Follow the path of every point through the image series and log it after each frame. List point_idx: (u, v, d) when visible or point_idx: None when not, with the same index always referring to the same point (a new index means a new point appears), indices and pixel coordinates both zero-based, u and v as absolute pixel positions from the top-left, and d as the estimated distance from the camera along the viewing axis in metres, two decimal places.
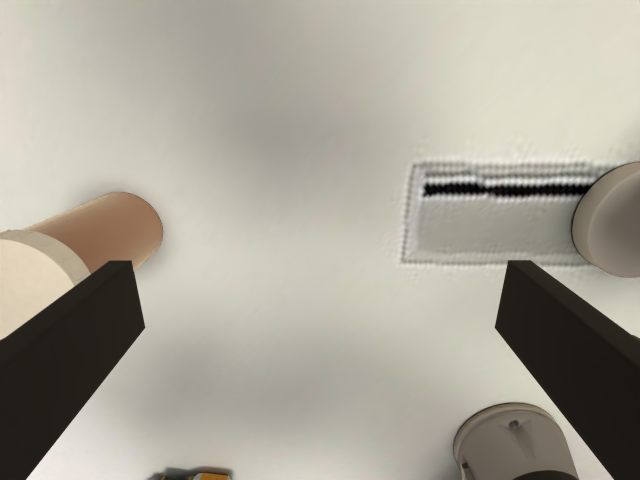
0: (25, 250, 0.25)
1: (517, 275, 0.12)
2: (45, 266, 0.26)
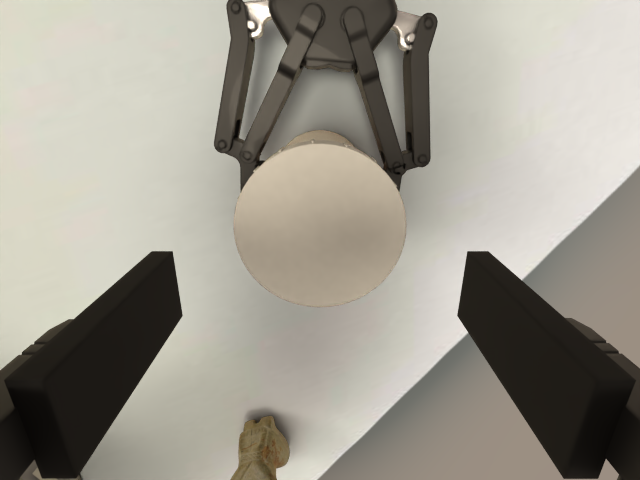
0: (255, 267, 0.20)
1: (474, 265, 0.12)
2: (249, 239, 0.19)
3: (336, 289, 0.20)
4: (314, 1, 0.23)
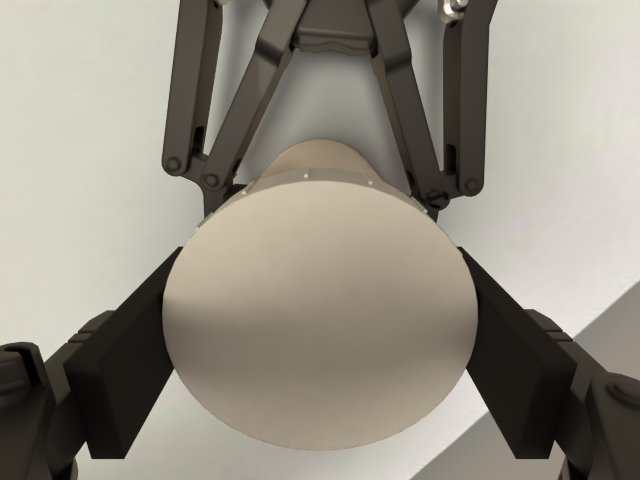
0: (205, 391, 0.11)
1: None
2: (193, 348, 0.11)
3: (348, 425, 0.12)
4: None
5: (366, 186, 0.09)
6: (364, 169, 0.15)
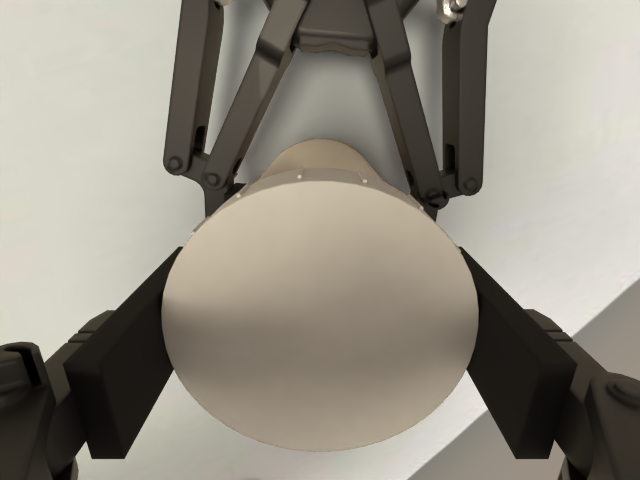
0: (331, 441, 0.12)
1: None
2: (283, 429, 0.12)
3: (438, 353, 0.11)
4: None
5: (185, 244, 0.09)
6: (364, 168, 0.16)
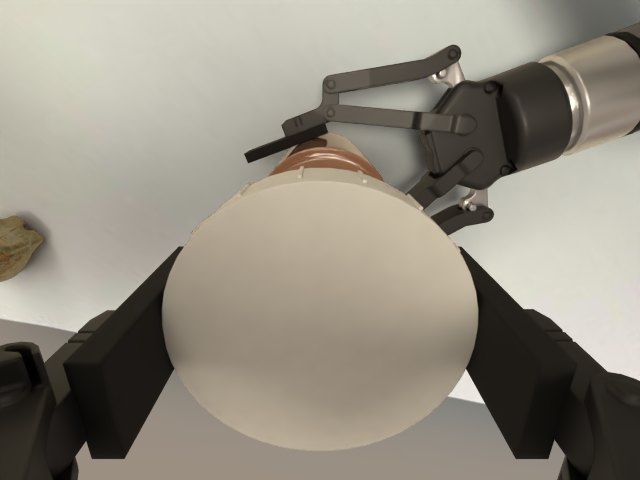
0: (331, 440, 0.12)
1: None
2: (283, 429, 0.12)
3: (437, 353, 0.11)
4: (476, 121, 0.27)
5: (186, 243, 0.09)
6: None
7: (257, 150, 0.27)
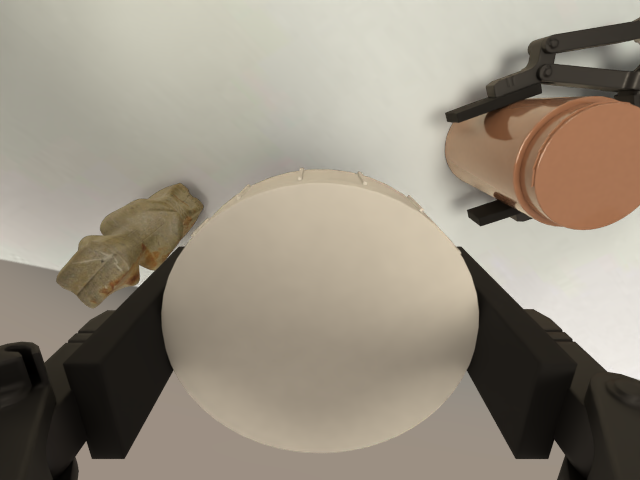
0: (331, 442, 0.12)
1: None
2: (283, 431, 0.12)
3: (438, 355, 0.11)
4: None
5: (186, 245, 0.09)
6: None
7: (470, 110, 0.28)
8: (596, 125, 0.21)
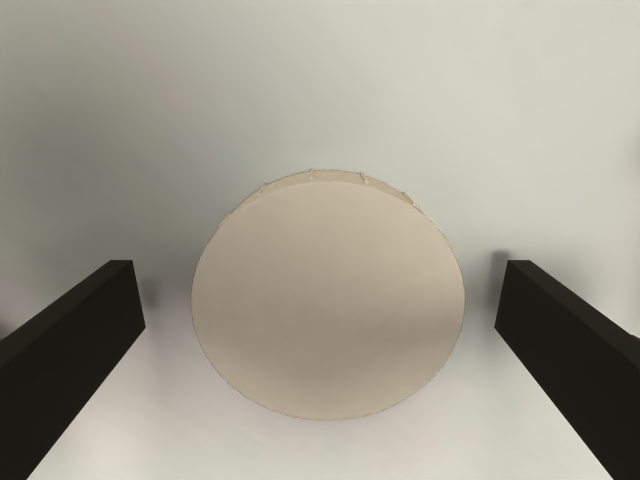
0: (336, 411, 0.13)
1: (516, 275, 0.12)
2: (295, 400, 0.13)
3: (430, 331, 0.12)
4: None
5: (214, 235, 0.11)
6: None
7: None
8: None
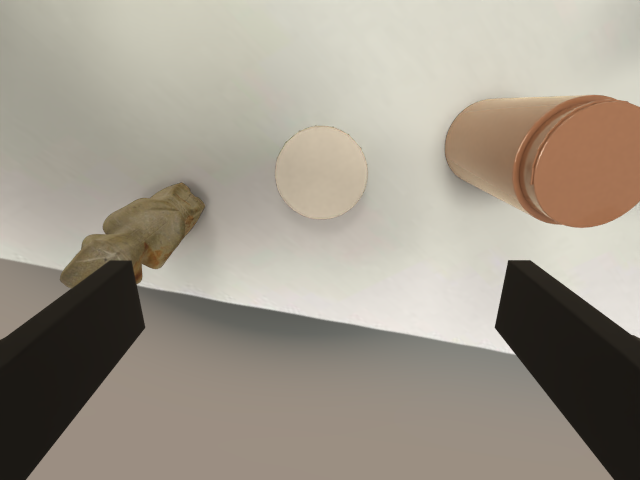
0: (324, 215, 0.37)
1: (517, 275, 0.12)
2: (309, 210, 0.37)
3: (356, 181, 0.36)
4: None
5: (284, 145, 0.34)
6: None
7: None
8: (594, 124, 0.21)
